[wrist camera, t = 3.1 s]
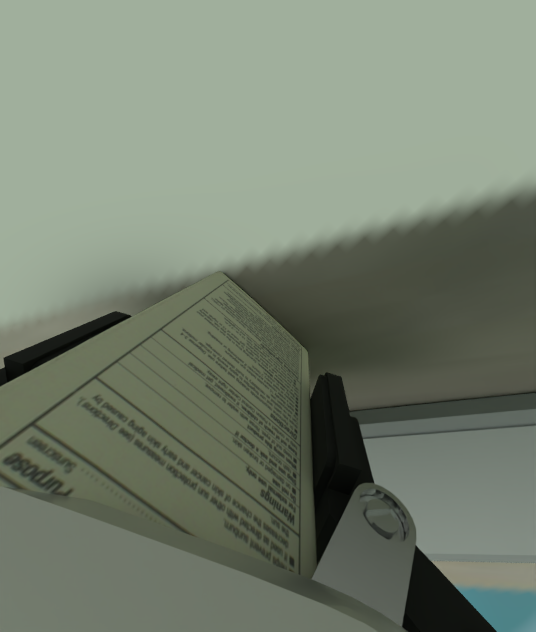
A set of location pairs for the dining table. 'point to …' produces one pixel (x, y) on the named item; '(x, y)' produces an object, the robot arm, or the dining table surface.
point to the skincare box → (178, 424)
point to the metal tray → (461, 474)
